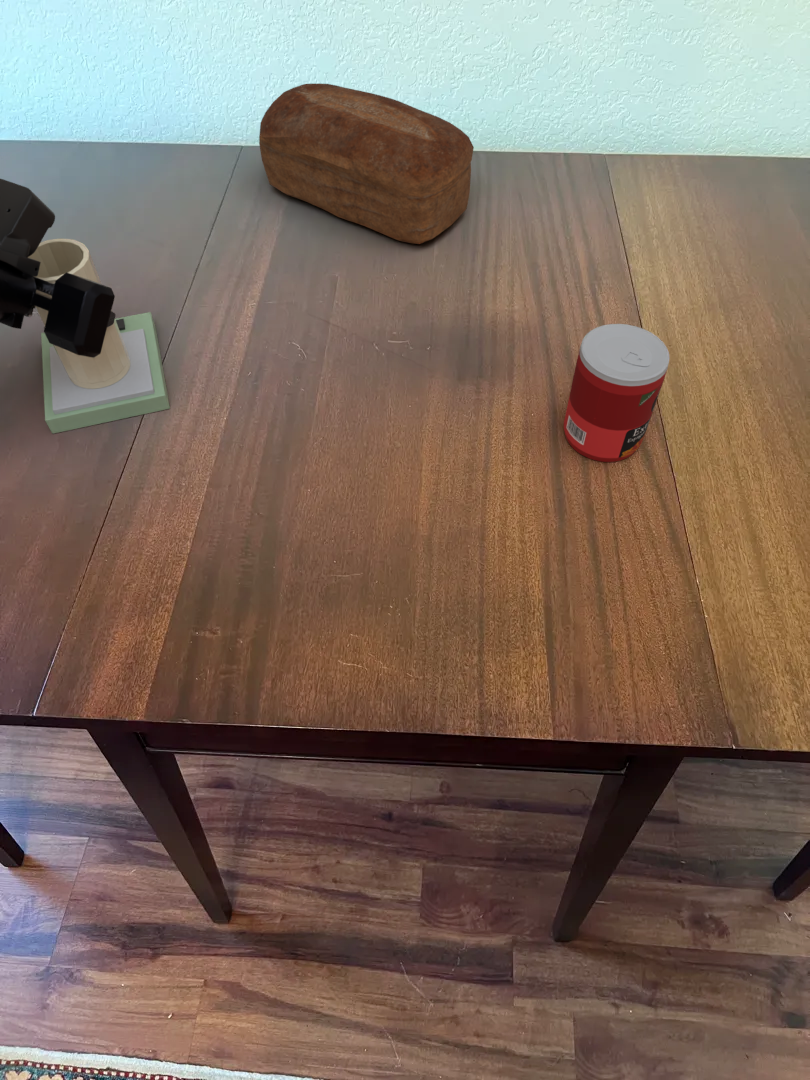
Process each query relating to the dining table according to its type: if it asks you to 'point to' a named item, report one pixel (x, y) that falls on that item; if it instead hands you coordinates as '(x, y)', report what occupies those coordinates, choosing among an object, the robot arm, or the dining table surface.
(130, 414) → the scale
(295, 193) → the bread
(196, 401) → the dining table surface
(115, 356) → the cup
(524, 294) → the dining table surface
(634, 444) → the canned food
